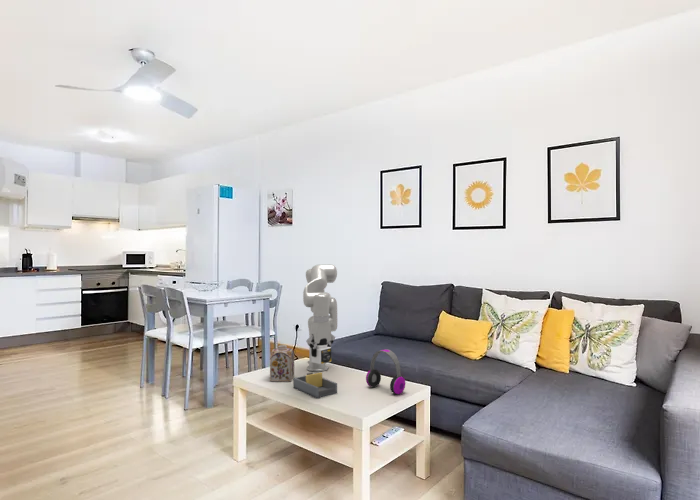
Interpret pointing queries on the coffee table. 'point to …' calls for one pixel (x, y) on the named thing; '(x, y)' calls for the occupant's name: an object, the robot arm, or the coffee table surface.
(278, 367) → the decorative jar
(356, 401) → the coffee table surface
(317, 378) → the pusher
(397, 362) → the headphones
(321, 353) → the medicine bottle
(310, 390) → the gray tray
